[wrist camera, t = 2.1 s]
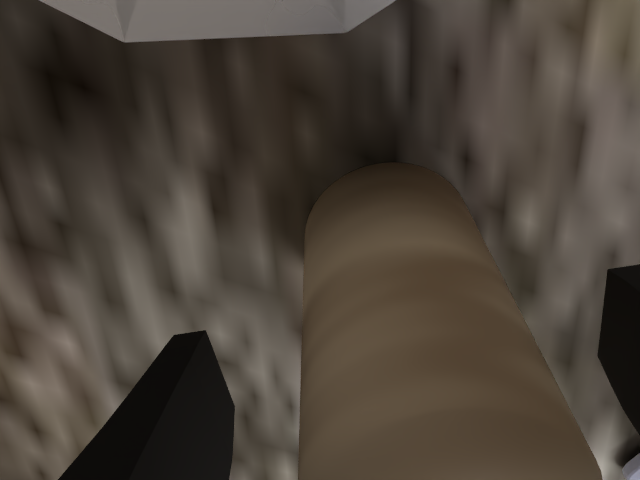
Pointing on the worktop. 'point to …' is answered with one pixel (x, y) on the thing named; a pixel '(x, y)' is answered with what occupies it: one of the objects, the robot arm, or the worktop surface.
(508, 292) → the tan cylinder
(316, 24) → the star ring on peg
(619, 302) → the robot arm
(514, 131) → the worktop surface
